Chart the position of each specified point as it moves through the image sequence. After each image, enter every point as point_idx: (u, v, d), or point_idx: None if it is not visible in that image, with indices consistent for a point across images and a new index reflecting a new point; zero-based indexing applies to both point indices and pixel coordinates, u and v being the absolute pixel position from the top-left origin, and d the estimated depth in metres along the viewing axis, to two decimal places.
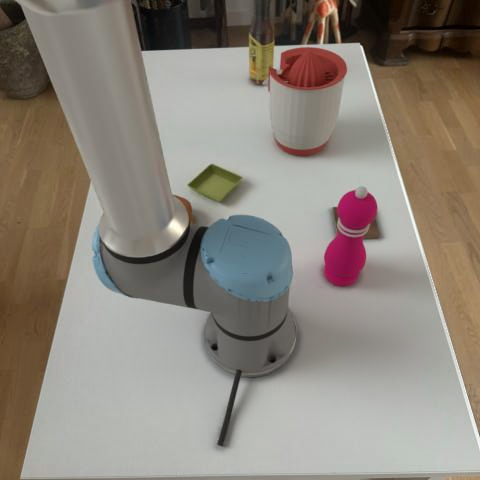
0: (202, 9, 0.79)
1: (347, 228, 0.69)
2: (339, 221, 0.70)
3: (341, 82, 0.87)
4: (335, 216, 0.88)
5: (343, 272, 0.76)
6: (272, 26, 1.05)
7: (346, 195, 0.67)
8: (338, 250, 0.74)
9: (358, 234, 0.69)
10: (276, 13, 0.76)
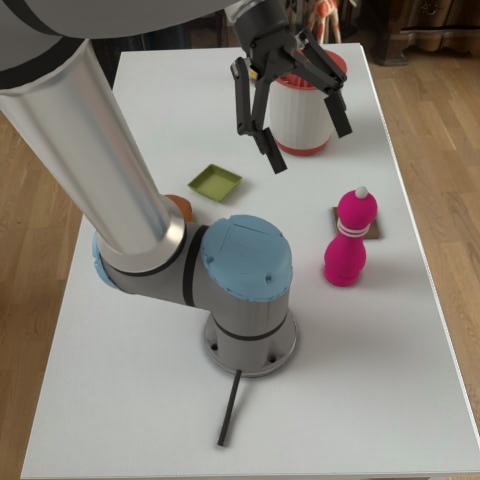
0: None
1: (347, 228, 0.69)
2: (339, 221, 0.70)
3: None
4: (335, 216, 0.88)
5: (343, 272, 0.76)
6: None
7: (346, 195, 0.67)
8: (338, 250, 0.74)
9: (358, 234, 0.69)
10: None
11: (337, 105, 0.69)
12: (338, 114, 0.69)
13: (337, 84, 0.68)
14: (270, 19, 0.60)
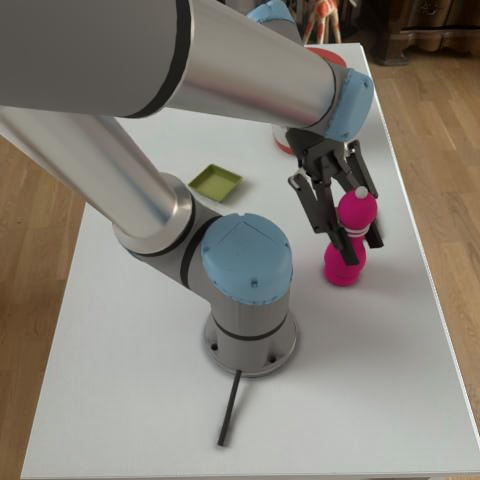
0: None
1: (347, 228, 0.69)
2: (339, 221, 0.70)
3: None
4: None
5: (343, 272, 0.76)
6: None
7: (346, 195, 0.67)
8: (338, 250, 0.74)
9: (358, 234, 0.69)
10: None
11: None
12: (370, 229, 0.72)
13: None
14: None
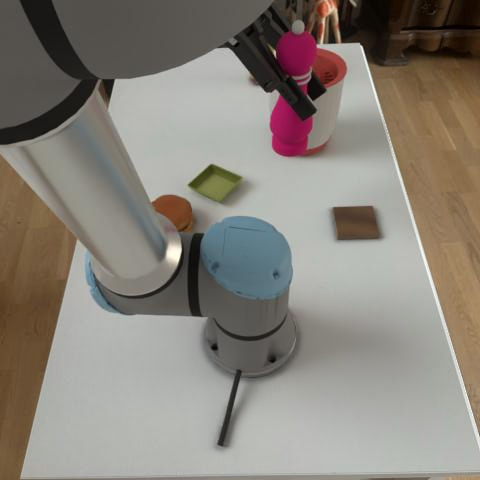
0: None
1: (294, 76, 0.65)
2: None
3: (341, 82, 0.87)
4: (335, 216, 0.88)
5: (299, 133, 0.72)
6: None
7: (283, 38, 0.63)
8: (288, 110, 0.70)
9: (306, 79, 0.66)
10: None
11: None
12: None
13: None
14: None
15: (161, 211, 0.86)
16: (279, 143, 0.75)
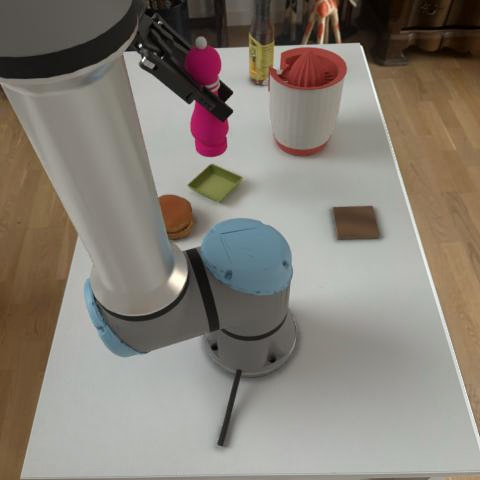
0: (222, 102, 0.81)
1: (207, 85, 0.74)
2: None
3: (341, 82, 0.87)
4: (335, 216, 0.88)
5: (220, 134, 0.81)
6: (272, 26, 1.05)
7: (190, 54, 0.71)
8: (207, 116, 0.78)
9: (217, 86, 0.75)
10: None
11: None
12: None
13: None
14: (140, 3, 0.65)
15: None
16: (204, 146, 0.83)
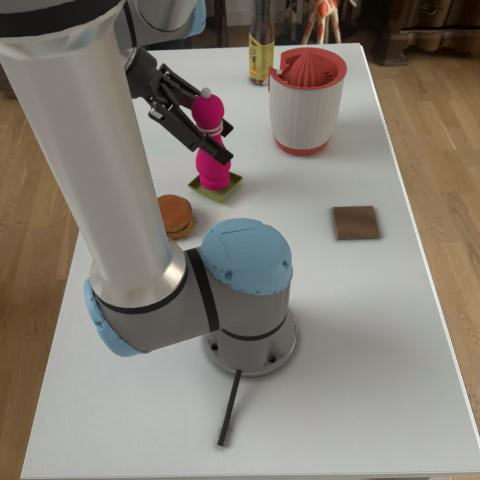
0: None
1: (211, 129, 0.81)
2: (201, 129, 0.81)
3: (341, 82, 0.87)
4: (335, 216, 0.88)
5: (223, 170, 0.88)
6: (272, 26, 1.05)
7: (196, 103, 0.78)
8: None
9: (220, 129, 0.82)
10: None
11: None
12: None
13: None
14: (151, 62, 0.72)
15: (161, 211, 0.86)
16: (208, 181, 0.90)
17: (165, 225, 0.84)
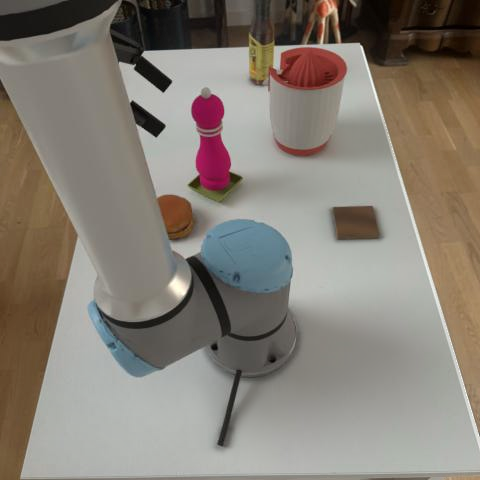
0: None
1: (211, 129, 0.81)
2: (201, 129, 0.81)
3: (341, 82, 0.87)
4: (335, 216, 0.88)
5: (223, 170, 0.88)
6: (272, 26, 1.05)
7: (196, 103, 0.78)
8: (211, 155, 0.85)
9: (220, 129, 0.82)
10: None
11: (150, 66, 0.79)
12: (154, 73, 0.80)
13: (138, 51, 0.78)
14: None
15: (161, 211, 0.86)
16: (208, 181, 0.90)
17: (165, 225, 0.84)
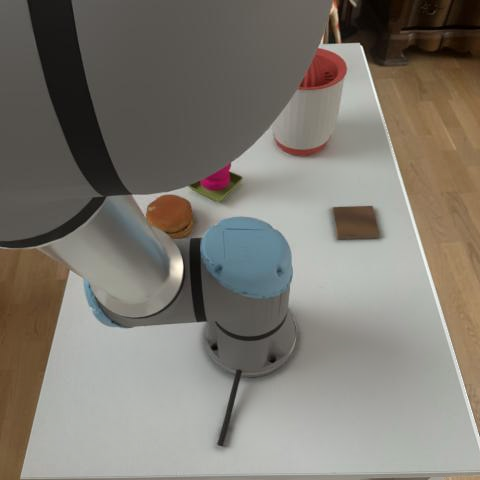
0: None
1: None
2: None
3: (341, 82, 0.87)
4: (335, 216, 0.88)
5: (223, 170, 0.88)
6: None
7: None
8: None
9: None
10: None
11: None
12: None
13: None
14: None
15: (161, 211, 0.86)
16: (208, 181, 0.90)
17: (165, 225, 0.84)
